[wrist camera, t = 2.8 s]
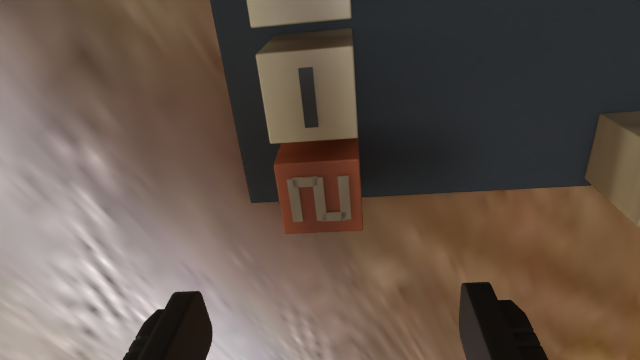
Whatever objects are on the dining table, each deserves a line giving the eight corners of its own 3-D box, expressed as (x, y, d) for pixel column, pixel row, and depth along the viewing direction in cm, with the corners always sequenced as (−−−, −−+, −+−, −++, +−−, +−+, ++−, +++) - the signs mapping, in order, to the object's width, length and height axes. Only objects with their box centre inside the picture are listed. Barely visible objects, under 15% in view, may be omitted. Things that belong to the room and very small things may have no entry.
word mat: (252, 200, 26) (251, 203, 26) (192, -97, 19) (189, -98, 18) (724, 175, 24) (729, 178, 23) (873, -182, 16) (884, -185, 16)
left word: (284, 109, 23) (269, 145, 18) (258, -80, 19) (230, -93, 14) (356, 104, 22) (358, 139, 18) (345, -90, 18) (344, -107, 14)
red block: (295, 186, 25) (284, 235, 21) (287, 126, 23) (272, 165, 19) (360, 183, 25) (363, 232, 20) (356, 121, 23) (359, 160, 18)
